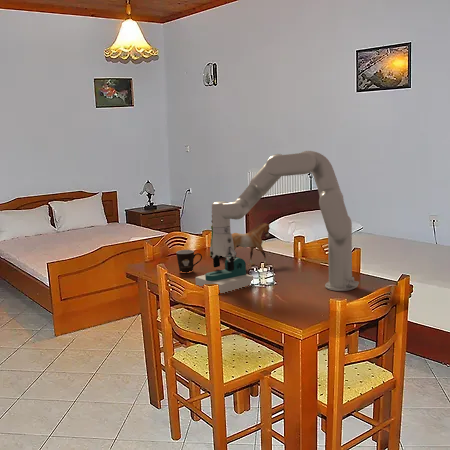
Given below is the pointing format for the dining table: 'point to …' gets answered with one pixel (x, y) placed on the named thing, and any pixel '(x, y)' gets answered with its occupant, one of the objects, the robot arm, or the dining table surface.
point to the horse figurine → (252, 239)
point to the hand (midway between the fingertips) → (223, 268)
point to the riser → (227, 282)
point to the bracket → (224, 274)
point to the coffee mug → (186, 260)
